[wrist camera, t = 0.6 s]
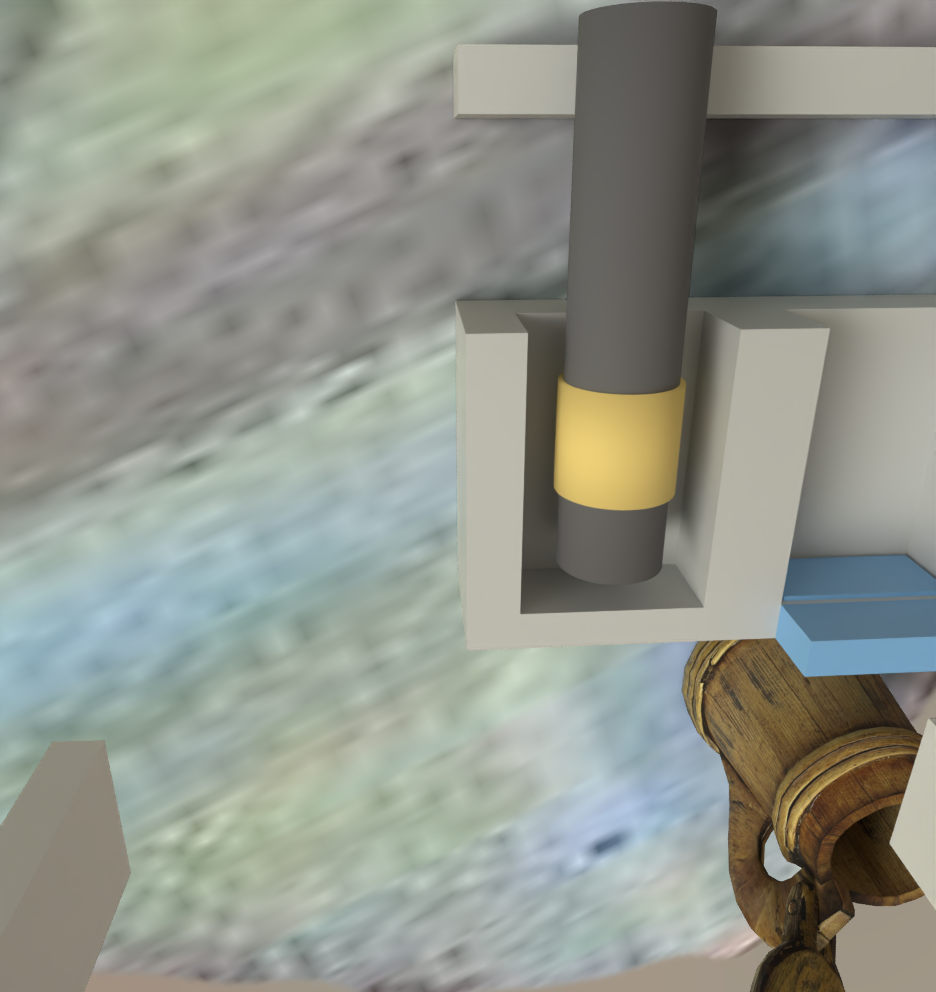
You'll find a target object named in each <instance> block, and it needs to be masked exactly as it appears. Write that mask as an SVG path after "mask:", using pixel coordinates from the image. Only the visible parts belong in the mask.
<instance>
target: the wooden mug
mask: <svg viewBox="0 0 936 992" xmlns="http://www.w3.org/2000/svg"><path fill="white" fill-rule="evenodd" d="M682 693H683V696H684V700H685V704H686V707H687V711H688V713H689V715H690V717H691V720H692V722H693V724H694V726H695V728H696V730H697V732H698V733H699V734H700V736H701V737H702V738H703V739H704V740H705V741H706V743H707V744H708V745H709V746H710V747H711V748H712V749H713V750H714V751H716V752H717V753H718V754H720V756H721V760H722V763H723V766H724V770H725V773H726V776H727V779H728V783H729V804H730V808H729V833H728V852H729V874H730V878H731V882H732V886H733V890H734V894H735V898H736V902H737V904H738V906H739V908H740V909H741V911H742V913H743V915H744V917H745V919H746V920H747V922H748V924H749V926H750V927H751V929H752V930H753V931H754V932H755V933H756V934H757V935H758V936H759V937H760V938H761V939H762V940H763V941H764V942H765V943H766V944H767V945H768V946H770V947H772V948H773V950H771V951H770V952H768V954H767V955H766V957H765V958H764V959H763V961H762V962H761V964H760V965H759V966H758V968H757V970H756V973H755V977H754V980H753V983H752V986H751V990H750V992H845V990H844V987H843V983H842V980H841V977H840V974H839V972H838V969H837V966H836V964H835V955H836V954H835V953H836V951H835V950H836V934H837V932H839V930H841V929H842V928H843V927H844V926H845V925H846V924H847V923H848V922H849V921H850V920H851V919H852V918H853V917H854V915H855V914H854V913H855V909H854V906H853V903H852V902H855V903H859V904H866V905H872V906H896V905H900V904H902V903H906V902H909V901H912V900H915V899H917V898H920V897H922V896H924V895H925V894H924V892H923V891H922V890H921V888H920V887H919V885H918V884H917V882H916V881H915V879H914V878H913V877H912V875H911V874H910V872H909V871H908V869H907V868H906V867H905V865H904V864H903V862H902V861H901V859H900V858H899V857H898V855H897V854H896V852H895V851H894V849H893V848H892V846H891V845H890V844H889V843H890V840H891V837H892V834H893V830H894V827H895V824H896V821H897V818H898V814H899V811H900V808H901V805H902V801H903V798H904V795H905V792H906V789H907V785H908V782H909V779H910V776H911V772H912V769H913V766H914V763H915V760H916V756H917V753H918V750H919V747H920V743H921V740H922V737H923V736H922V735H921V734H918V733H917V732H916V730H915V729H914V727H913V726H912V724H911V723H910V721H909V720H908V718H907V717H906V715H905V714H904V712H903V711H902V709H901V708H900V706H899V705H898V703H897V701H896V700H895V698H894V697H893V695H892V694H891V692H890V691H889V689H888V688H887V686H886V685H885V683H884V682H883V680H882V678H881V677H880V675H879V674H859V675H835V676H812V677H804V675H803V674H802V673H801V671H800V670H799V669H798V668H797V666H796V665H795V664H794V662H793V661H792V660H791V658H790V657H789V656H788V654H787V653H786V652H785V650H784V649H783V648H782V646H781V645H780V644H779V642H778V641H777V640H776V639H775V638H764V639H739V640H714V641H699V642H698V643H697V645H696V646H695V648H694V650H693V652H692V654H691V656H690V658H689V660H688V662H687V664H686V666H685V670H684V677H683V685H682ZM773 830H774V832H775V835H776V838H777V841H778V844H779V847H780V850H781V853H782V855H783V856H784V858H785V859H786V860H787V861H788V862H790V863H793V864H796V865H798V866H799V867H801V868H802V869H801V870H800V871H799V872H797V873H796V874H795V875H794V876H793V877H792V878H790V879H787V880H785V881H778V880H776V879H775V878H773V877H771V876H769V875H768V873H767V871H766V869H765V867H764V850H765V843H766V841H767V840H768V838H769V836H770V834H771V832H772V831H773Z"/></svg>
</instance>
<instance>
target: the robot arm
mask: <svg viewBox="0 0 936 992" xmlns="http://www.w3.org/2000/svg"><path fill="white" fill-rule="evenodd" d="M889 844H890V845H891V846H892V848H893V849H894V851H895V852H896V854H897V855H898V857H899V858H900V859H901V861H902V862H903V864H904V865H905V867H906V868H907V869H908V871H909V872H910V874H911V875H912V877H913V878H914V879H915V881H916V882H917V884H918V885H919V887H920V888H921V890H922V891H923V892H924V894H925V895H926V897H927V898H928V900H929V901H930V902H931V904H932V905H933V907H934V908H935V910H936V718H928V721H927V724H926V727H925V731H924V734H923V737H922V740H921V743H920V747H919V750H918V753H917V756H916V760H915V763H914V766H913V769H912V772H911V776H910V779H909V782H908V785H907V789H906V792H905V795H904V798H903V801H902V805H901V808H900V811H899V814H898V818H897V821H896V824H895V827H894V830H893V834H892V837H891V840H890V843H889ZM130 874H131V871H130V866H129V861H128V856H127V851H126V846H125V841H124V836H123V831H122V826H121V821H120V816H119V811H118V806H117V801H116V796H115V791H114V786H113V781H112V776H111V771H110V766H109V761H108V756H107V751H106V746H105V741H104V740H99V741H62V742H52V743H51V745H50V747H49V748H48V750H47V751H46V753H45V755H44V756H43V758H42V760H41V761H40V763H39V764H38V766H37V768H36V769H35V771H34V773H33V774H32V776H31V777H30V779H29V781H28V782H27V784H26V786H25V787H24V789H23V790H22V792H21V794H20V795H19V797H18V799H17V800H16V802H15V804H14V805H13V807H12V808H11V810H10V812H9V813H8V815H7V817H6V818H5V820H4V821H3V823H2V825H1V826H0V992H84V991H85V988H86V986H87V983H88V981H89V978H90V976H91V973H92V971H93V968H94V965H95V963H96V960H97V958H98V955H99V953H100V950H101V948H102V945H103V943H104V940H105V937H106V935H107V932H108V930H109V927H110V925H111V922H112V920H113V917H114V914H115V912H116V909H117V907H118V904H119V902H120V899H121V897H122V894H123V891H124V889H125V886H126V884H127V881H128V879H129V876H130Z"/></svg>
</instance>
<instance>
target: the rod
mask: <svg viewBox="0 0 936 992" xmlns="http://www.w3.org/2000/svg"><path fill="white" fill-rule="evenodd" d="M716 17H717V10H716V9H715V8H713V7H711V6H707V5H702V4H696V3H687V2H638V3H627V4H618V5H611V6H605V7H600V8H596V9H592V10H589V11H586V12H584V13H582V14H581V15H580V16H579V26H578V49H577V73H576V96H575V120H574V143H573V167H572V190H571V214H570V237H569V261H568V284H567V308H566V331H565V355H564V373H562V374H561V375H559V377H558V385H557V410H556V435H555V460H554V485H553V486H554V489H555V490H556V492H557V493H558V494H559V496H558V519H557V543H556V562H557V564H558V565H559V566H560V568H561V569H563V570H564V571H565V572H567V573H568V574H570V575H572V576H574V577H576V578H579V579H581V580H585V581H588V582H592V583H598V584H605V585H629V584H636V583H640V582H644V581H647V580H649V579H651V578H653V577H655V576H656V575H657V574H658V573H659V572H660V571H661V568H662V561H663V551H664V541H665V531H666V521H667V511H668V501H670V500H671V499H672V498H673V497H674V495H675V488H676V478H677V469H678V459H679V449H680V439H681V430H682V420H683V410H684V400H685V390H686V382H685V380H684V379H682V378H681V370H682V360H683V350H684V339H685V329H686V319H687V309H688V299H689V289H690V279H691V269H692V259H693V249H694V239H695V229H696V219H697V209H698V199H699V188H700V178H701V168H702V158H703V148H704V138H705V128H706V118H707V108H708V98H709V88H710V78H711V68H712V58H713V47H714V37H715V27H716Z"/></svg>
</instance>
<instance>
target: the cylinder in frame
mask: <svg viewBox="0 0 936 992" xmlns="http://www.w3.org/2000/svg"><path fill="white" fill-rule="evenodd" d="M577 49H578V45H503V44H458V45H457V48H456V50H455V53H454V55H453V74H454V118H575V96H576V73H577ZM706 119H936V47H829V46H714V47H713V58H712V68H711V78H710V88H709V98H708V108H707V118H706ZM566 308H567V299H533V300H457V301H455V310H456V428H457V546H458V576H459V585H460V594H461V602H462V611H463V620H464V629H465V638H466V647H467V650H487V649H513V648H538V647H563V646H588V645H613V644H638V643H663V642H689V641H714V640H739V639H764V638H775V639H776V640H777V641H778V642H779V644H780V645H781V646H782V648H783V649H784V650H785V652H786V653H787V654H788V656H789V657H790V658H791V660H792V661H793V662H794V664H795V665H796V666H797V668H798V669H799V670H800V671H801V673H802V674H803V675H804V677H812V676H835V675H859V674H882V673H905V672H929V671H936V294H910V295H835V296H759V297H689V299H688V309H687V319H686V329H685V339H684V350H683V360H682V370H681V378H682V379H684V380H685V382H686V390H685V400H684V410H683V420H682V430H681V439H680V449H679V459H678V469H677V478H676V488H675V495H674V497H673V498H672V499H671V500H670V501H668V511H667V521H666V531H665V541H664V551H663V561H662V568H661V571H660V572H659V573H658V574H657V575H656V576H655V577H653V578H651V579H649V580H647V581H644V582H640V583H636V584H629V585H605V584H598V583H592V582H588V581H585V580H581V579H579V578H576V577H574V576H572V575H570V574H568V573H567V572H565V571H564V570H563V569H561V568H560V566H559V565H558V564H557V562H556V543H557V519H558V496H559V494H558V493H557V492H556V490H555V489H554V486H553V485H554V460H555V435H556V410H557V385H558V377H559V375H561V374H562V373H564V355H565V331H566Z"/></svg>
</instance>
